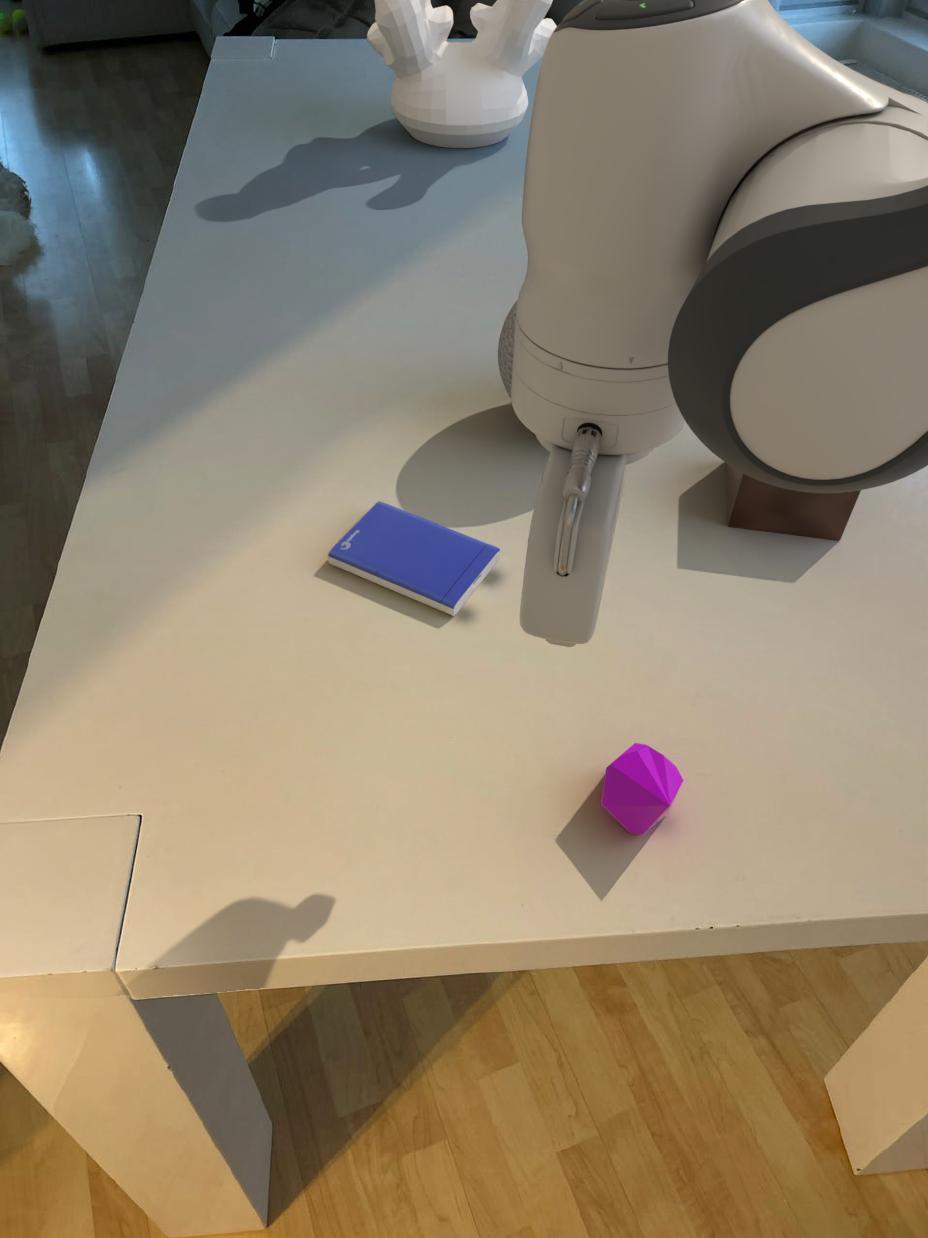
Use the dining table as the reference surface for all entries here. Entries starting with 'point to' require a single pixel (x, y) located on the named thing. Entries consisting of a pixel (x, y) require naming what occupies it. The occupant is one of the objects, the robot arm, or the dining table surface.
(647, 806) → the crystal
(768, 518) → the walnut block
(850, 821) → the dining table surface
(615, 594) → the dining table surface
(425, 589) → the hard drive
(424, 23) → the vase
